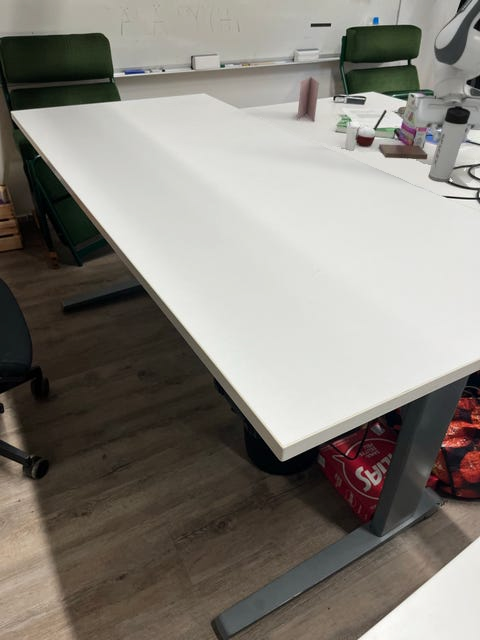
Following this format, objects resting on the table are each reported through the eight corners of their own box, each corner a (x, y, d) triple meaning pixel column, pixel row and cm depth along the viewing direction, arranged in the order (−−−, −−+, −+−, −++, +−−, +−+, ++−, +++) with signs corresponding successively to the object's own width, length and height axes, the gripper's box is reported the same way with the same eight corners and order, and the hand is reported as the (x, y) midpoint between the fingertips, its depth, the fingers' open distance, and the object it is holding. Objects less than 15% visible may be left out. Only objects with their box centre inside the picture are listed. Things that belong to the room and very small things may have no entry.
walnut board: (417, 150, 168) (419, 145, 167) (426, 159, 160) (427, 154, 159) (378, 148, 168) (379, 144, 167) (385, 157, 160) (386, 153, 159)
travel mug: (448, 176, 147) (470, 107, 135) (450, 183, 142) (472, 112, 130) (427, 173, 148) (447, 104, 136) (428, 180, 143) (448, 110, 131)
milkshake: (338, 149, 165) (343, 119, 159) (348, 146, 168) (353, 116, 162) (349, 153, 163) (355, 122, 157) (358, 150, 166) (364, 119, 160)
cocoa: (350, 146, 169) (356, 110, 162) (353, 141, 174) (360, 106, 167) (377, 150, 167) (384, 113, 159) (380, 145, 171) (387, 109, 164)
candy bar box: (424, 149, 169) (437, 100, 159) (411, 150, 168) (423, 100, 158) (409, 139, 178) (421, 92, 168) (397, 140, 177) (408, 92, 167)
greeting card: (304, 115, 201) (308, 76, 192) (321, 118, 199) (326, 78, 190) (294, 122, 193) (298, 81, 184) (312, 125, 190) (317, 84, 181)
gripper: (418, 88, 137) (418, 133, 135) (489, 92, 137) (490, 136, 135) (410, 101, 143) (410, 144, 141) (479, 105, 143) (479, 148, 141)
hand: (450, 140), depth 138 cm, fingers closed on travel mug, 6 cm apart
